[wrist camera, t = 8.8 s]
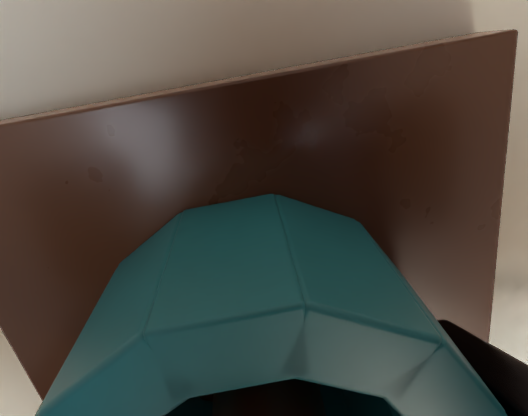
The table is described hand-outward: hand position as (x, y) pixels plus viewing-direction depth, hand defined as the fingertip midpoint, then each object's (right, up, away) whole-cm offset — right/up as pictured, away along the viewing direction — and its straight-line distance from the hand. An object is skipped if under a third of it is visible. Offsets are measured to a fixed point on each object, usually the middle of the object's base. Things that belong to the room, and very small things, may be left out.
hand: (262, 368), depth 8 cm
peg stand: (0, +1, +2) cm, 2 cm away
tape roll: (0, 0, +1) cm, 1 cm away
